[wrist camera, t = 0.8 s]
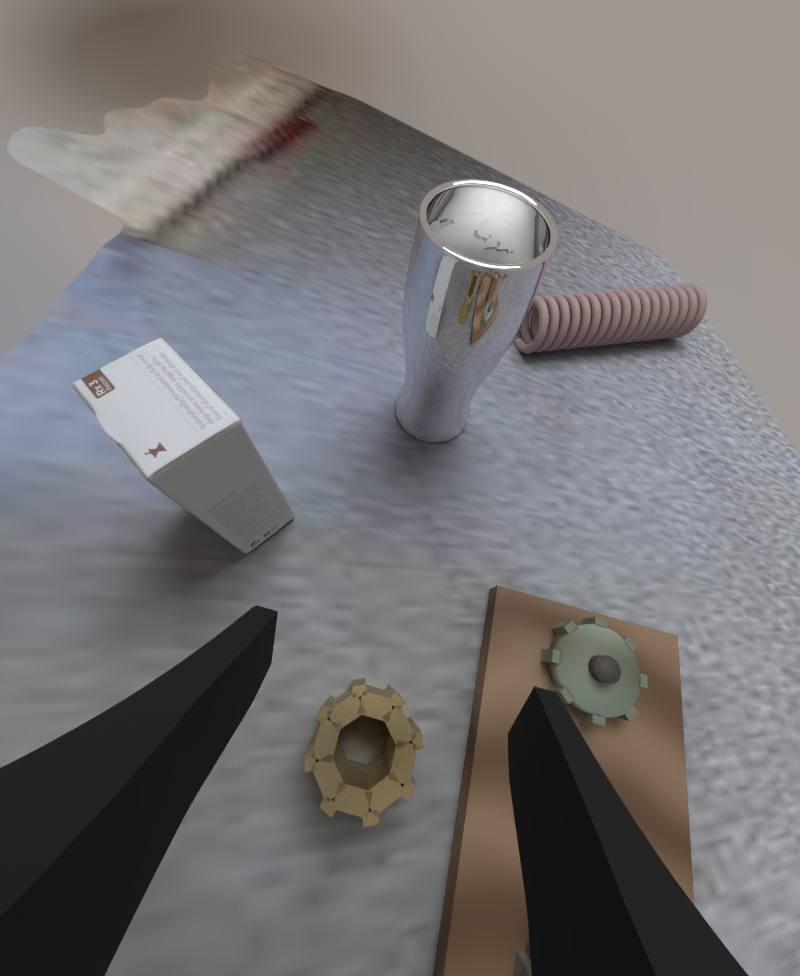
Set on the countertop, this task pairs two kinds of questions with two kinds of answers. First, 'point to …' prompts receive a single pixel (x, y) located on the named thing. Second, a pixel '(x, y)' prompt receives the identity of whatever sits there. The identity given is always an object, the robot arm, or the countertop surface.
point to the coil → (611, 317)
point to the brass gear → (356, 782)
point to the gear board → (606, 729)
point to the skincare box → (187, 443)
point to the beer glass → (466, 297)
